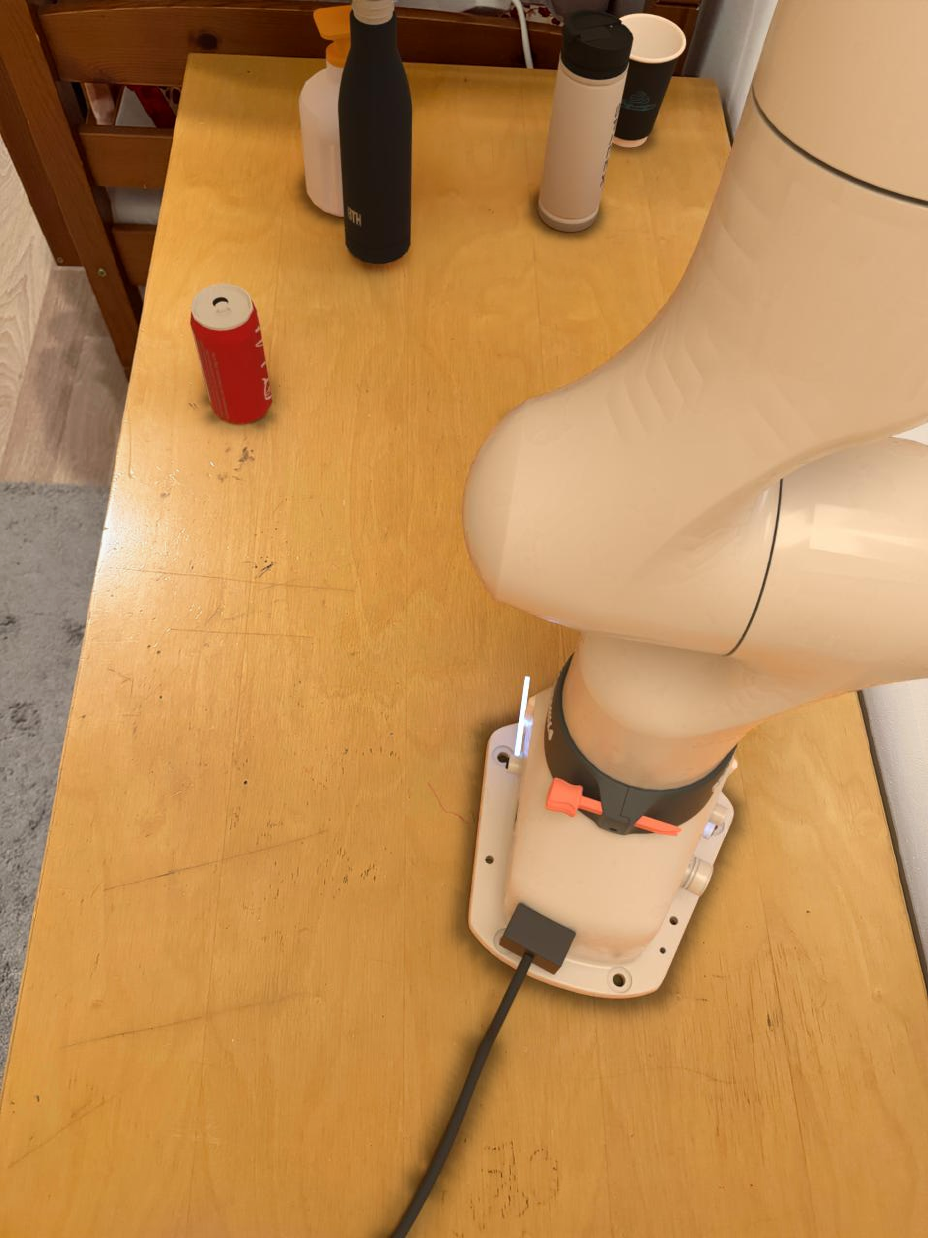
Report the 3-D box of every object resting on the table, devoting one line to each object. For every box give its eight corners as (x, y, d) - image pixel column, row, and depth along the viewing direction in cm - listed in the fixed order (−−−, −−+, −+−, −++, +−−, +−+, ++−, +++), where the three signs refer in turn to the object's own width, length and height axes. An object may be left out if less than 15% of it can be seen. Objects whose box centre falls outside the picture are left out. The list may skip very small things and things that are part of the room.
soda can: (280, 417, 90) (264, 319, 80) (220, 433, 89) (196, 335, 79) (262, 373, 93) (245, 271, 82) (204, 387, 91) (178, 286, 81)
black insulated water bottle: (414, 223, 101) (420, -112, 74) (406, 268, 97) (409, -65, 71) (350, 215, 100) (333, -123, 74) (340, 260, 97) (319, -75, 71)
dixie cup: (618, 165, 109) (639, 68, 100) (576, 123, 112) (593, 25, 103) (675, 142, 112) (702, 46, 102) (633, 102, 115) (654, 4, 105)
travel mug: (524, 201, 106) (549, 9, 88) (579, 186, 107) (614, -6, 90) (551, 240, 103) (582, 51, 86) (607, 224, 105) (649, 35, 87)
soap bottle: (297, 168, 106) (272, -87, 84) (381, 155, 108) (377, -98, 86) (317, 226, 102) (296, -26, 81) (404, 211, 104) (406, -38, 82)
